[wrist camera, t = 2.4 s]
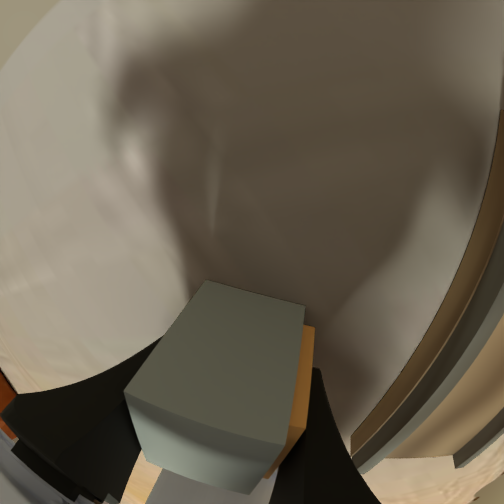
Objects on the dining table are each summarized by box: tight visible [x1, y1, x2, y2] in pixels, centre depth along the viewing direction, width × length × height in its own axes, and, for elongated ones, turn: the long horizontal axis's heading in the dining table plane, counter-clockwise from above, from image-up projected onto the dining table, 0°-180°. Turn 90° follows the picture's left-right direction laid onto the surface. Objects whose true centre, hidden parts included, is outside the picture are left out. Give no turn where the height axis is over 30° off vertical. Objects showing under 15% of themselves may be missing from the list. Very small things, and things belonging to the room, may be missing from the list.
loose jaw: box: [124, 280, 315, 495], centre depth 9 cm, size 5×4×6 cm
